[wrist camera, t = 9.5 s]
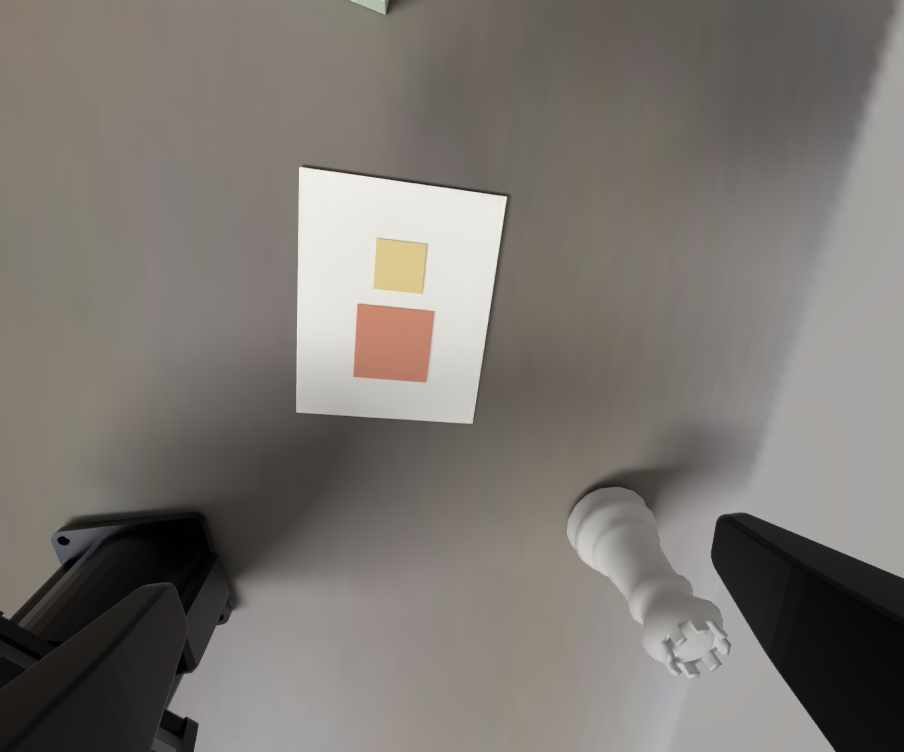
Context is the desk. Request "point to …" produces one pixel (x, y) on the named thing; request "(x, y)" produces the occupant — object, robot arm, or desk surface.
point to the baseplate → (374, 5)
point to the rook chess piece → (647, 580)
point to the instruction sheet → (393, 296)
